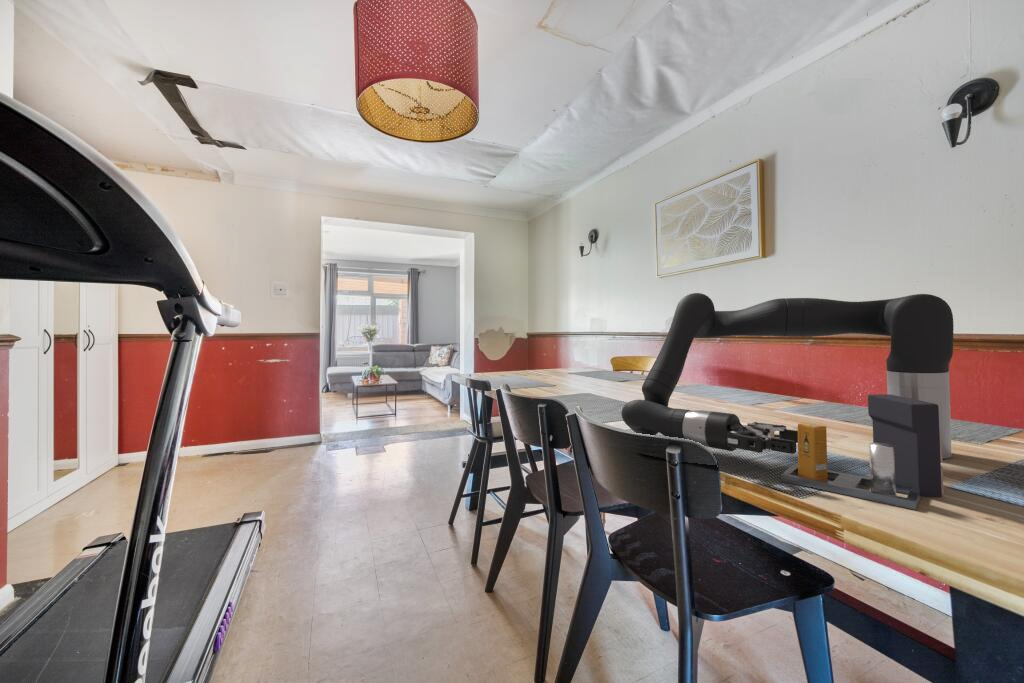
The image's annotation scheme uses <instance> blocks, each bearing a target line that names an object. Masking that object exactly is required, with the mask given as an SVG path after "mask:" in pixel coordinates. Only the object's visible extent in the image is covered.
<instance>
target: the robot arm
mask: <svg viewBox="0 0 1024 683" xmlns="http://www.w3.org/2000/svg"><path fill="white" fill-rule="evenodd" d="M846 334H848V335H849V334H859V335H860V334H862V335H874V336H886V337H890V351H889V355H888V357H887V358H886V361H885V362H886V363H885V364H886V384H887V385H886V387H887V389H886V390H887V394H886V395H896V396H901V397H905V398H910V399H915V400H920V401H925V402H930V403H934V404H937V405H938V407H939V416H940V429H939V432H940V433H941V435H942V460H944V459H951V458H952V455H953V454H952V424H951V423H952V422H951V391H950V390H951V389H950V388H951V387H950V362H951V360H952V357H953V355H954V315H953V311H952V309H951V307H950V304H948V302H946V301H945V300H944V299H943V298H941V297H940V296H937V295H933V294H927V293H917V294H910V295H906V296H901V297H895V298H887V299H878V300H877V299H876V300H863V301H844V300H837V299H831V298H830V299H829V298H828V299H827V298H816V297H815V298H814V297H789V298H788V297H787V298H785V297H784V298H782V297H781V298H775V299H770V300H767V301H763V302H760V303H757V304H755V305H752V306H748V307H746V308H742V309H738V310H716V309H715V305H714V302H713V300H712V299H711V298H710V297H709V295H706V294H704V293H701V292H693V293H689V294H687V295H685V296H684V297H682V298H681V299H680V300H679V301H678V303H677V305H676V308H675V311H674V315H673V318H672V321H671V324H670V327H669V329H668V332H667V334H666V337H665V340H664V342H663V344H662V346H661V349H660V351H659V353H658V355H657V356H656V359H655V361H654V363H653V365H652V367H651V369H650V370H649V371H648V373H647V376H646V378H645V380H644V381H643V384H642V386H641V392H642V394H643V399H633V400H631V401H628V402H627V403H625V404H624V405H623V407H622V409H621V418H622V420H623V422H624V424H625V425H626V426H627V427H629V429H631V430H632V431H633V432H634V433H635V432H636V433H642V434H650V435H655V436H657V435H658V434H661V435H662V436H664V437H665V436H669V437H678V438H684V439H689V440H693V441H695V442H699V443H701V444H702V445H704V446H703V447H705V446H706V447H707V448H712V449H717V450H723V451H728V452H734V451H735V450H737V449H738V450H743V451H744V450H745V451H748V452H752V453H753V452H754V453H758V454H761V453H764V452H771V451H773V452H778V453H784V454H791V455H794V454H796V453H797V444H798V430H795V429H787V426H786V425H783V424H771V423H763V422H757V421H754V422H751V423H750V422H749V423H746V424H747V425H746V424H745V425H744V424H742V423H741V421H740V420H741V419H740V418H739V416H737V415H736V414H735V413H727V412H722V411H721V412H719V411H712V410H701V409H698V410H697V409H695V410H692V409H685V408H684V409H683V408H674V407H673V408H672V407H669V402H670V398H671V397H672V394H673V393H674V391H675V389H676V386H677V384H678V383H679V380H680V378H681V376H682V373H683V370H684V367H685V364H686V362H687V358H688V353H689V350H690V348H691V346H692V344H693V342H694V339H711V338H723V337H736V336H737V337H741V336H742V337H746V336H747V337H781V338H782V337H785V338H788V337H789V338H792V337H793V338H794V337H795V338H808V337H811V338H813V337H826V336H835V335H846ZM775 432H778V433H775ZM636 433H635V434H636ZM763 451H764V452H763Z"/></svg>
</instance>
